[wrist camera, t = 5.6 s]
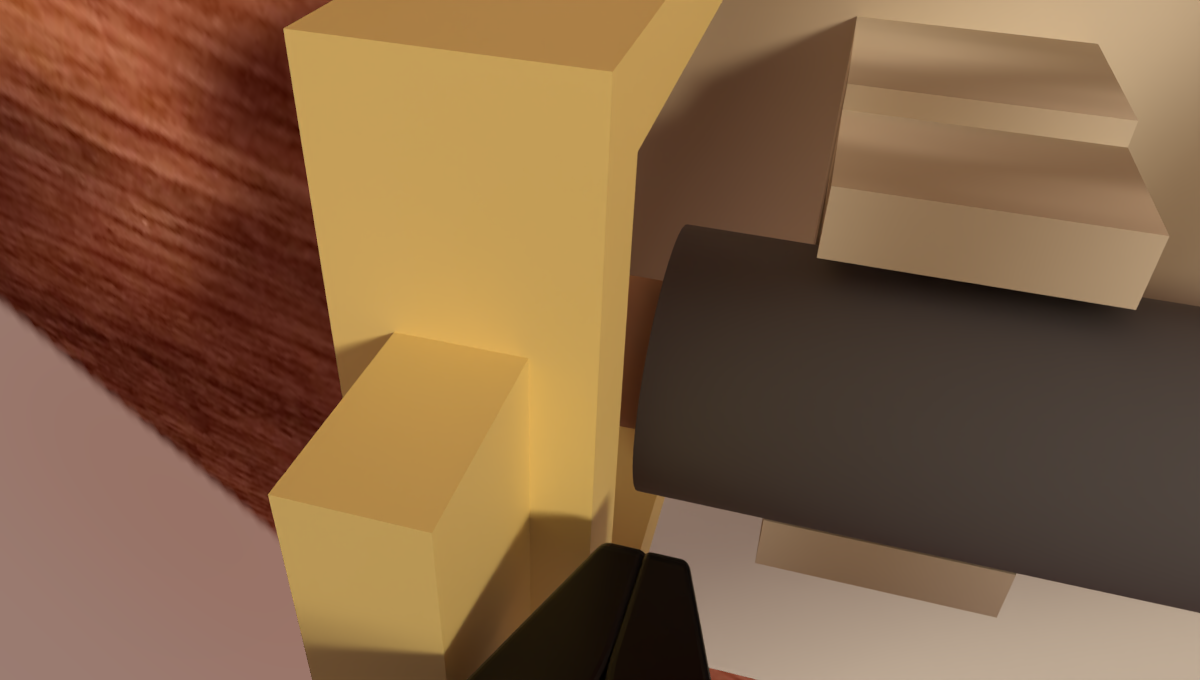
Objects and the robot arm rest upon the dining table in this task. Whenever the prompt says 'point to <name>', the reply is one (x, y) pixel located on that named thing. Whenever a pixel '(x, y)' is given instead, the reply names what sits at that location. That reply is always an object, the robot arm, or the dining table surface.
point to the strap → (468, 315)
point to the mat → (908, 621)
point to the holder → (938, 173)
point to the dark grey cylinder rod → (921, 412)
